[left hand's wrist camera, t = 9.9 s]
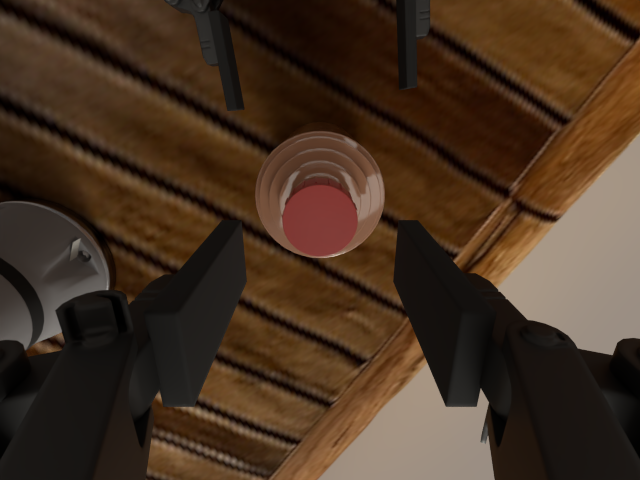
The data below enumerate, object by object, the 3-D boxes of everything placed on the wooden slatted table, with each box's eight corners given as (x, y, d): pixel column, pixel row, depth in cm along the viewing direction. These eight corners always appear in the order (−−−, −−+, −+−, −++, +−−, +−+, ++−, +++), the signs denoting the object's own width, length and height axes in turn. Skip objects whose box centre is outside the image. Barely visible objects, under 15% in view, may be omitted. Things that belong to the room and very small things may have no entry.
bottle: (376, 174, 35) (429, 236, 18) (311, 219, 37) (303, 314, 20) (330, 103, 33) (340, 99, 16) (262, 155, 35) (206, 201, 18)
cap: (368, 219, 20) (373, 230, 18) (311, 257, 20) (311, 270, 19) (328, 162, 18) (329, 167, 17) (270, 204, 19) (265, 214, 18)
